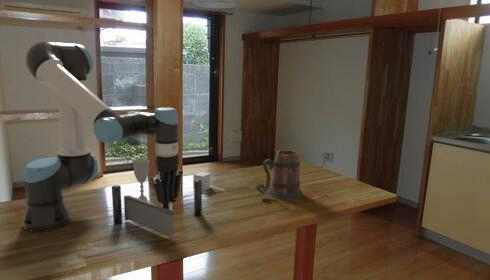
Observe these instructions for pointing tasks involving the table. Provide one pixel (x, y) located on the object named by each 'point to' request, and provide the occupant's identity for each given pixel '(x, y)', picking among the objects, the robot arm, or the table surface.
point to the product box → (203, 179)
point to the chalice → (141, 174)
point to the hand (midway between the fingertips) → (168, 219)
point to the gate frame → (118, 209)
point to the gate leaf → (149, 215)
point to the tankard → (283, 176)
